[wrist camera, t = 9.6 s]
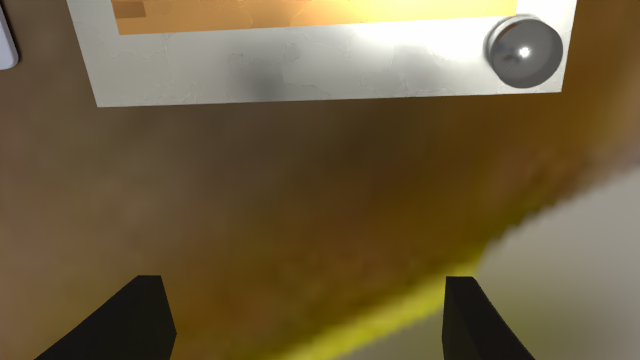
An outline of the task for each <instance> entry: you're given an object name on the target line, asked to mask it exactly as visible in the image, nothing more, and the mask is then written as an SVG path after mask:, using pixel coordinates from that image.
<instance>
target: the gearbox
mask: <svg viewBox="0 0 640 360" xmlns="http://www.w3.org/2000/svg"><path fill="white" fill-rule="evenodd" d="M576 1H577V0H67V4H68V7H69V11H70V14H71V17H72V21H73V24H74V28H75V31H76V35H77V38H78V41H79V45H80V48H81V52H82V55H83V59H84V62H85V65H86V69H87V72H88V76H89V79H90V83H91V86H92V89H93V93H94V96H95V100H96V103H97V107H121V106H151V105H181V104H212V103H242V102H272V101H302V100H332V99H362V98H392V97H423V96H453V95H483V94H513V93H543V92H561V88H562V82H563V77H564V71H565V65H566V59H567V53H568V48H569V42H570V36H571V30H572V24H573V19H574V13H575V7H576Z"/></svg>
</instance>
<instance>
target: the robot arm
mask: <svg viewBox="0 0 640 360" xmlns="http://www.w3.org/2000/svg"><path fill="white" fill-rule="evenodd" d="M17 62H18V54H17V51H16V48H15V45H14V43H13V40H12V37H11V34H10V31H9V28H8V26H7V23H6V20H5V17H4V14H3V11H2V9H1V6H0V70H1V69H9V68H11V67H13V66H15V65H16V64H17ZM176 335H177V333H176V329H175V326H174V322H173V318H172V315H171V311H170V308H169V304H168V300H167V297H166V293H165V289H164V286H163V282H162V278H161V276H149V275H138V276H137V277H136V278H134V279H133V280H132V281H130V282H129V283H128V284H127V285H126V286H124V287H123V288H122V289H121V290H120V291H118V292H117V293H116V294H115V295H114V296H112V297H111V298H110V299H109V300H108V301H107V302H105V303H104V304H103V305H102V306H101V307H99V308H98V309H97V310H96V311H95V312H93V313H92V314H91V315H90V316H89V317H87V318H86V319H85V320H84V321H83V322H81V323H80V324H79V325H78V326H77V327H75V328H74V329H73V330H72V331H71V332H69V333H68V334H67V335H65V336H64V337H63V338H61V339H60V340H59V341H58V342H56V343H55V344H54V345H52V346H51V347H50V348H49V349H47V350H46V351H45V352H43V353H42V354H41V355H39V356H38V357H37V358H36V359H34V360H169V359H170V356H171V353H172V349H173V346H174V342H175V338H176ZM442 344H443V353H444V360H535V359H534V357H533V356H532V355H531V354H530V353H529V352H528V350H527V349H526V348H525V347H524V346H523V344H522V343H521V342H520V341H519V339H518V338H517V337H516V336H515V334H514V333H513V332H512V331H511V329H510V328H509V327H508V325H507V324H506V323H505V321H504V320H503V319H502V317H501V316H500V315H499V314H498V312H497V311H496V309H495V308H494V306H493V305H492V304H491V302H490V301H489V299H488V298H487V296H486V295H485V293H484V292H483V291H482V289H481V287H480V286H479V285H478V283H477V281H476V280H475V279H474V278H473V277H453V276H446V286H445V300H444V315H443V328H442Z"/></svg>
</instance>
